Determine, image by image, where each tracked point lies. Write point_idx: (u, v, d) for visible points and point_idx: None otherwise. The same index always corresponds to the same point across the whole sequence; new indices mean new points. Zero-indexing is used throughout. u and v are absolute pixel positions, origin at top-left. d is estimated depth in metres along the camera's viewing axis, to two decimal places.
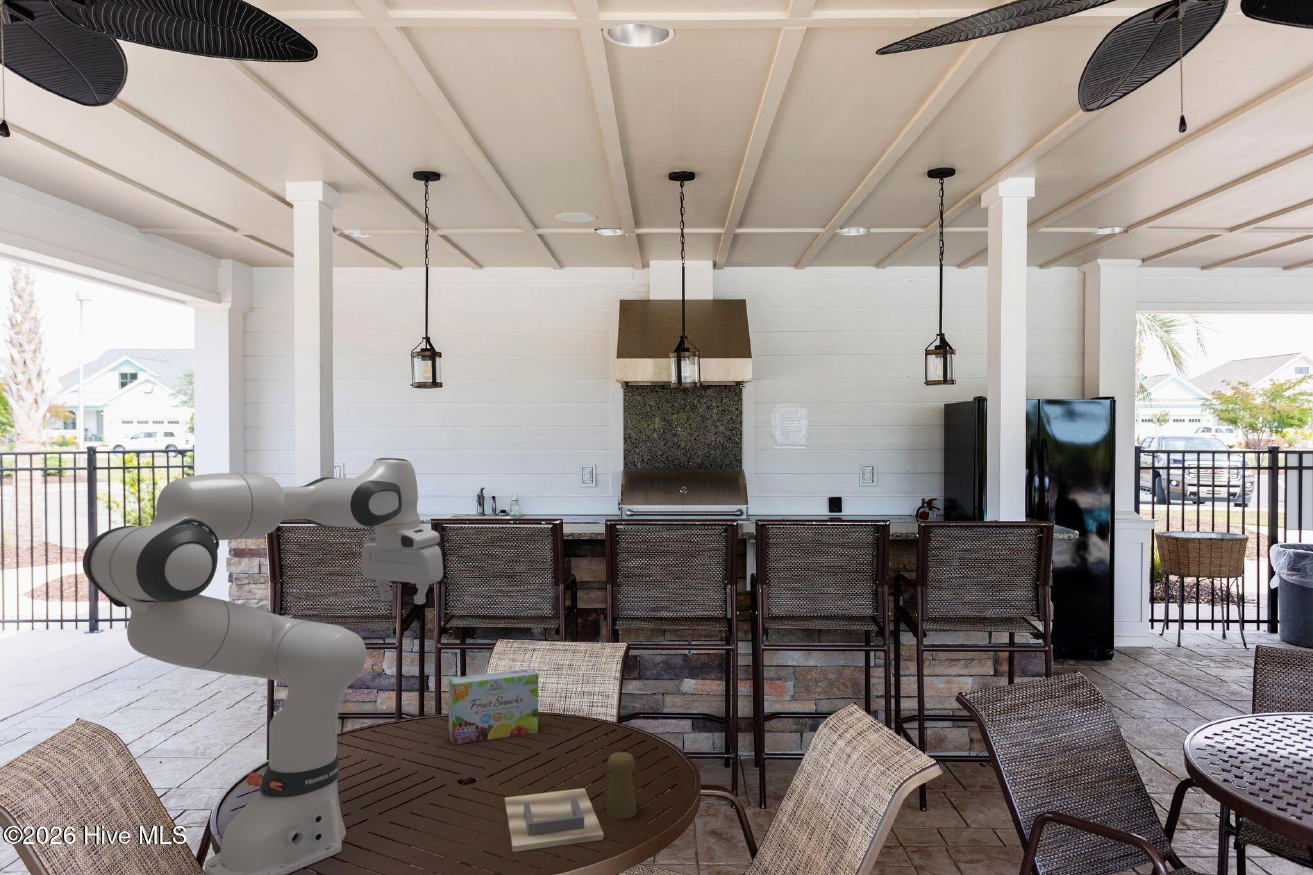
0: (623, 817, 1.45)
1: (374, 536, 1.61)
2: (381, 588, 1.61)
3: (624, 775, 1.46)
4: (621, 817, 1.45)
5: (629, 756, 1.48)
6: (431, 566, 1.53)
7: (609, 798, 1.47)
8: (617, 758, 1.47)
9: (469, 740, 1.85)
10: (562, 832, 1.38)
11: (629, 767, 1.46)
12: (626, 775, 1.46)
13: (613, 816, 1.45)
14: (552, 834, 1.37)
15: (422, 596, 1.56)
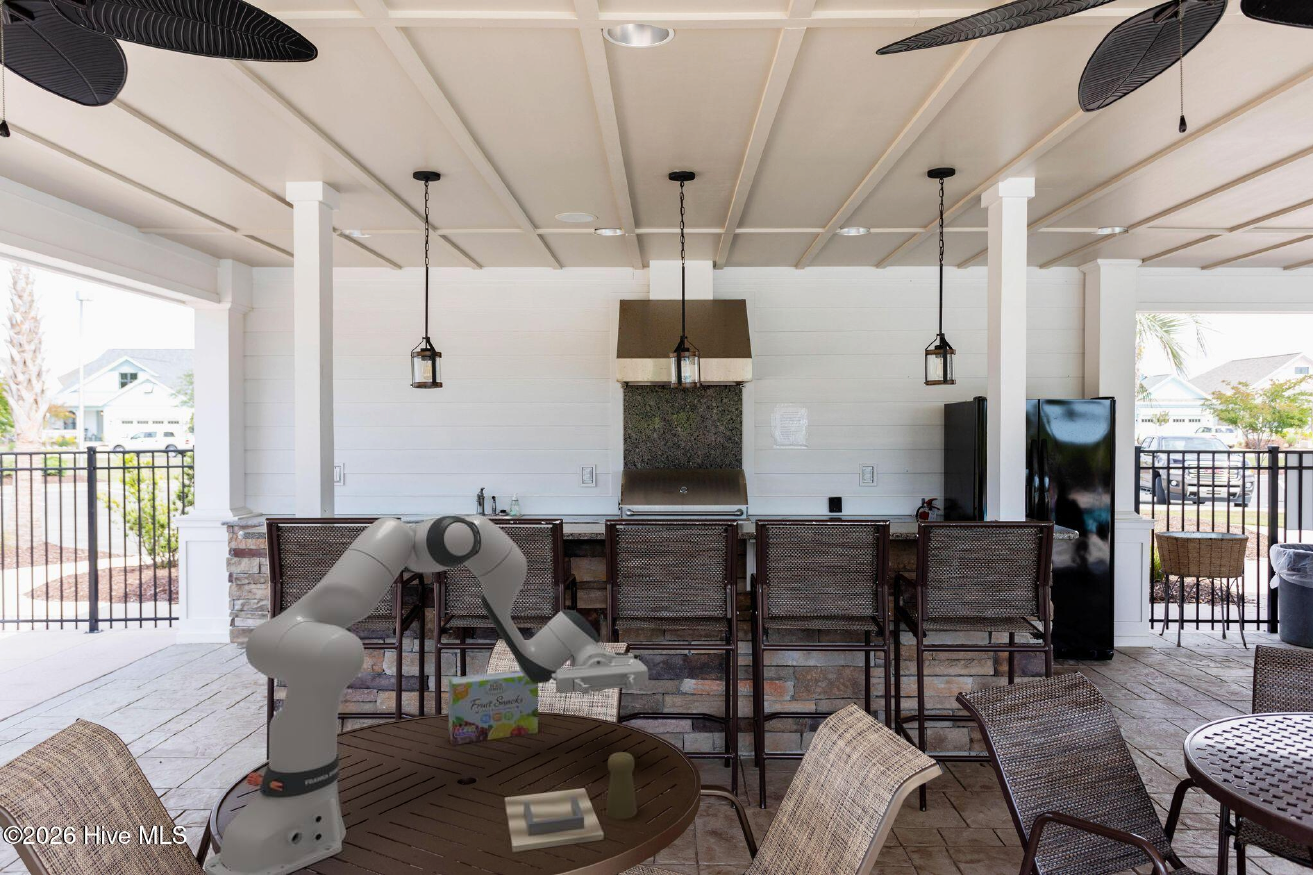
0: (623, 817, 1.45)
1: None
2: None
3: (624, 775, 1.46)
4: (621, 817, 1.45)
5: (629, 756, 1.48)
6: None
7: (609, 798, 1.47)
8: (617, 758, 1.47)
9: (469, 740, 1.85)
10: (562, 832, 1.38)
11: (629, 767, 1.46)
12: (626, 775, 1.46)
13: (613, 816, 1.45)
14: (552, 834, 1.37)
15: None
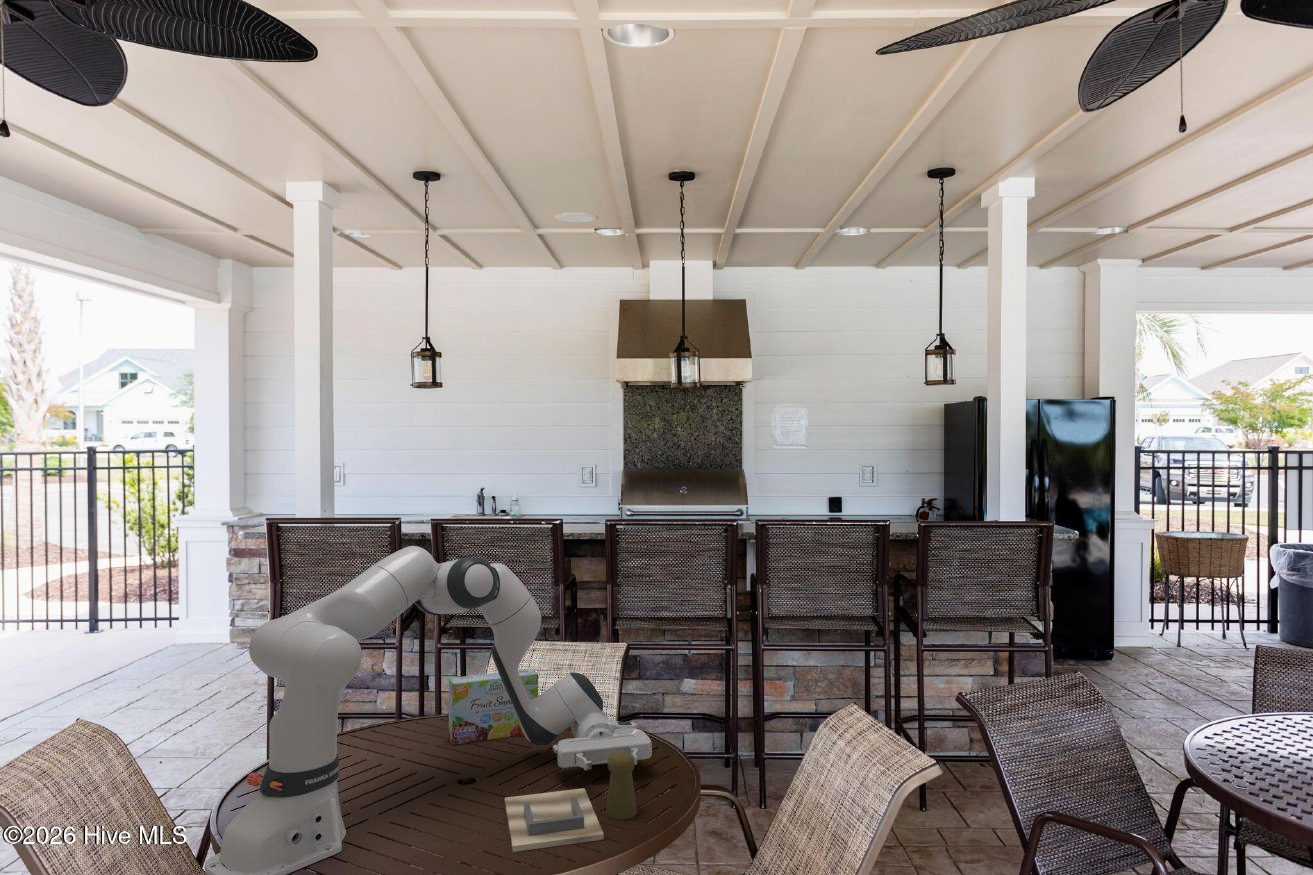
0: (623, 817, 1.45)
1: None
2: None
3: (624, 775, 1.46)
4: (621, 817, 1.45)
5: (629, 756, 1.48)
6: None
7: (609, 798, 1.47)
8: (617, 758, 1.47)
9: (469, 740, 1.85)
10: (562, 832, 1.38)
11: (629, 767, 1.46)
12: (626, 775, 1.46)
13: (613, 816, 1.45)
14: (552, 834, 1.37)
15: None
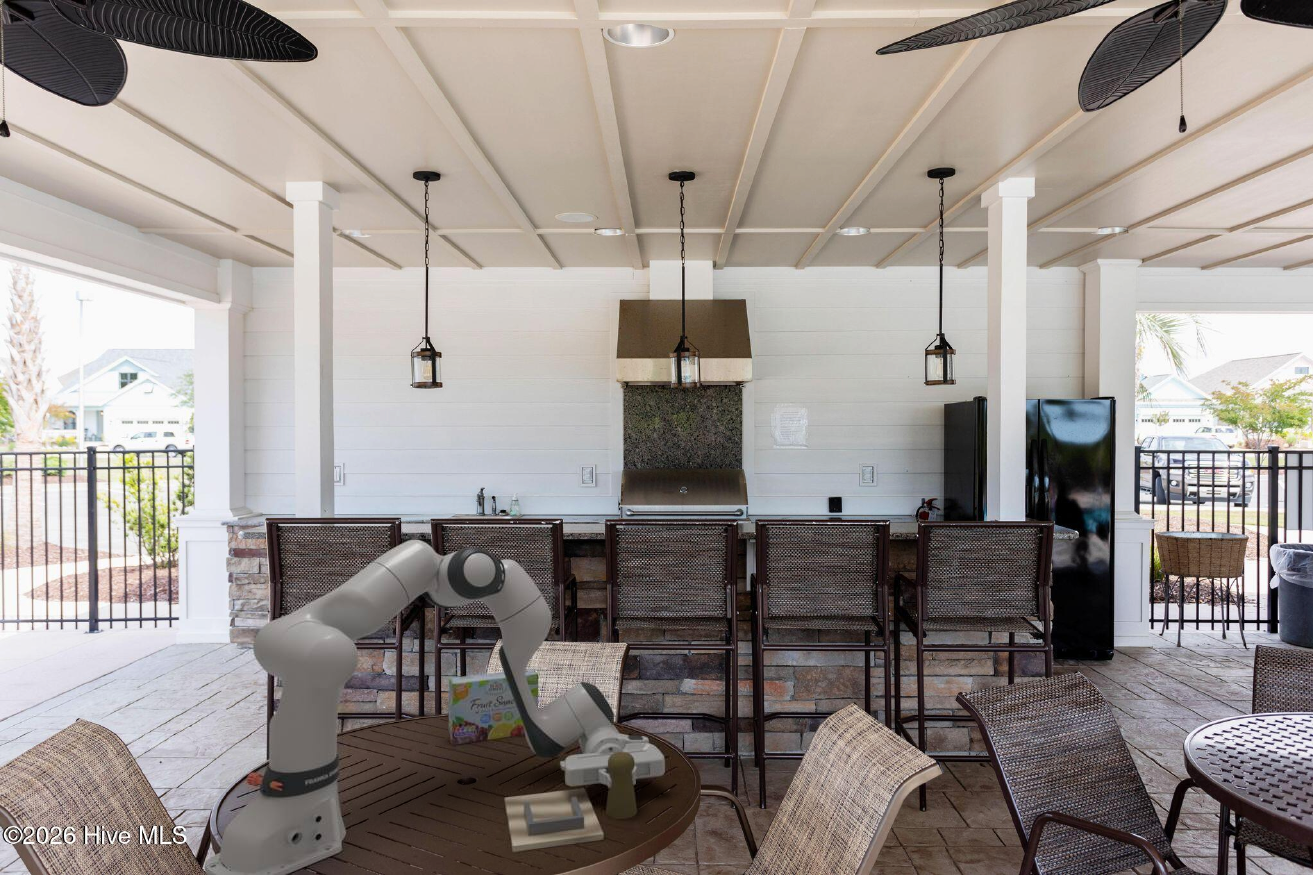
0: (623, 817, 1.45)
1: None
2: None
3: (624, 775, 1.46)
4: (621, 817, 1.45)
5: (629, 756, 1.48)
6: None
7: (609, 798, 1.47)
8: (617, 758, 1.47)
9: (469, 740, 1.85)
10: (562, 832, 1.38)
11: (629, 767, 1.46)
12: (626, 774, 1.46)
13: (613, 816, 1.45)
14: (552, 834, 1.37)
15: None
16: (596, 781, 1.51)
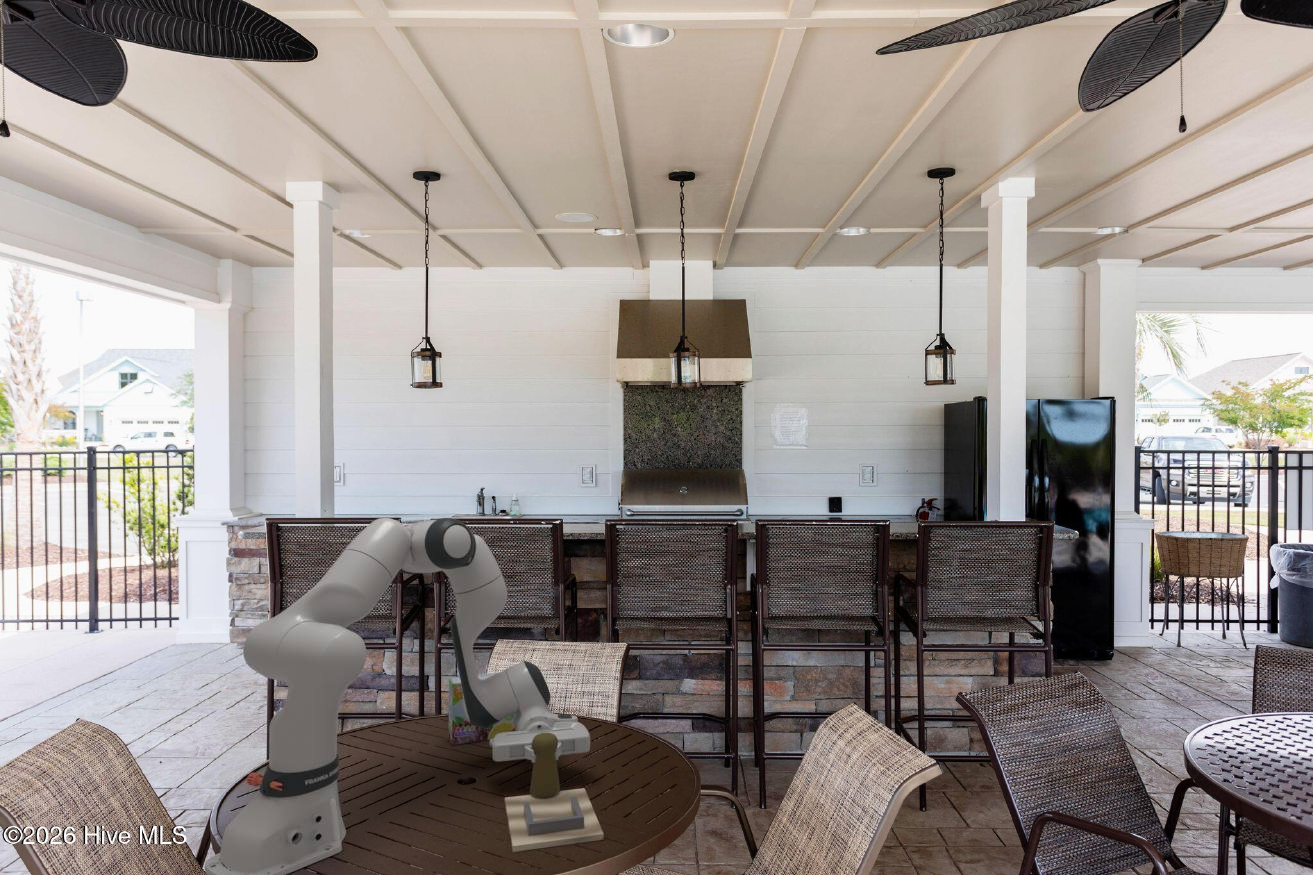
0: (546, 794, 1.51)
1: None
2: None
3: (547, 754, 1.53)
4: (544, 794, 1.51)
5: (553, 736, 1.54)
6: None
7: (533, 776, 1.53)
8: (540, 738, 1.53)
9: (469, 740, 1.85)
10: (562, 832, 1.38)
11: (552, 747, 1.53)
12: (549, 754, 1.53)
13: (536, 793, 1.52)
14: (552, 834, 1.37)
15: None
16: (522, 757, 1.57)
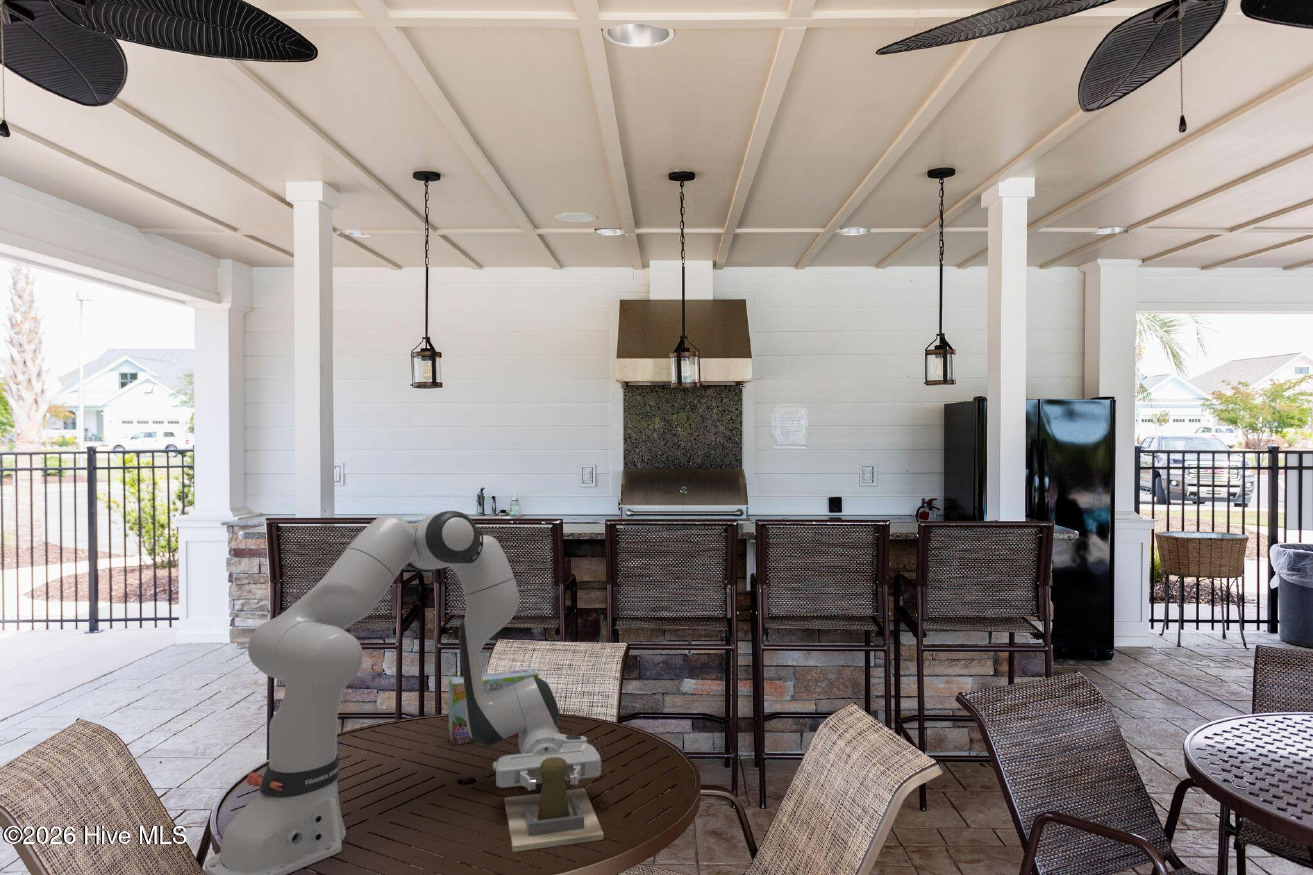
0: None
1: None
2: (527, 776, 1.43)
3: (556, 781, 1.41)
4: None
5: (562, 761, 1.43)
6: None
7: (541, 805, 1.42)
8: (549, 764, 1.42)
9: (469, 740, 1.85)
10: (562, 832, 1.38)
11: (562, 773, 1.41)
12: (558, 780, 1.41)
13: None
14: (552, 834, 1.37)
15: None
16: None
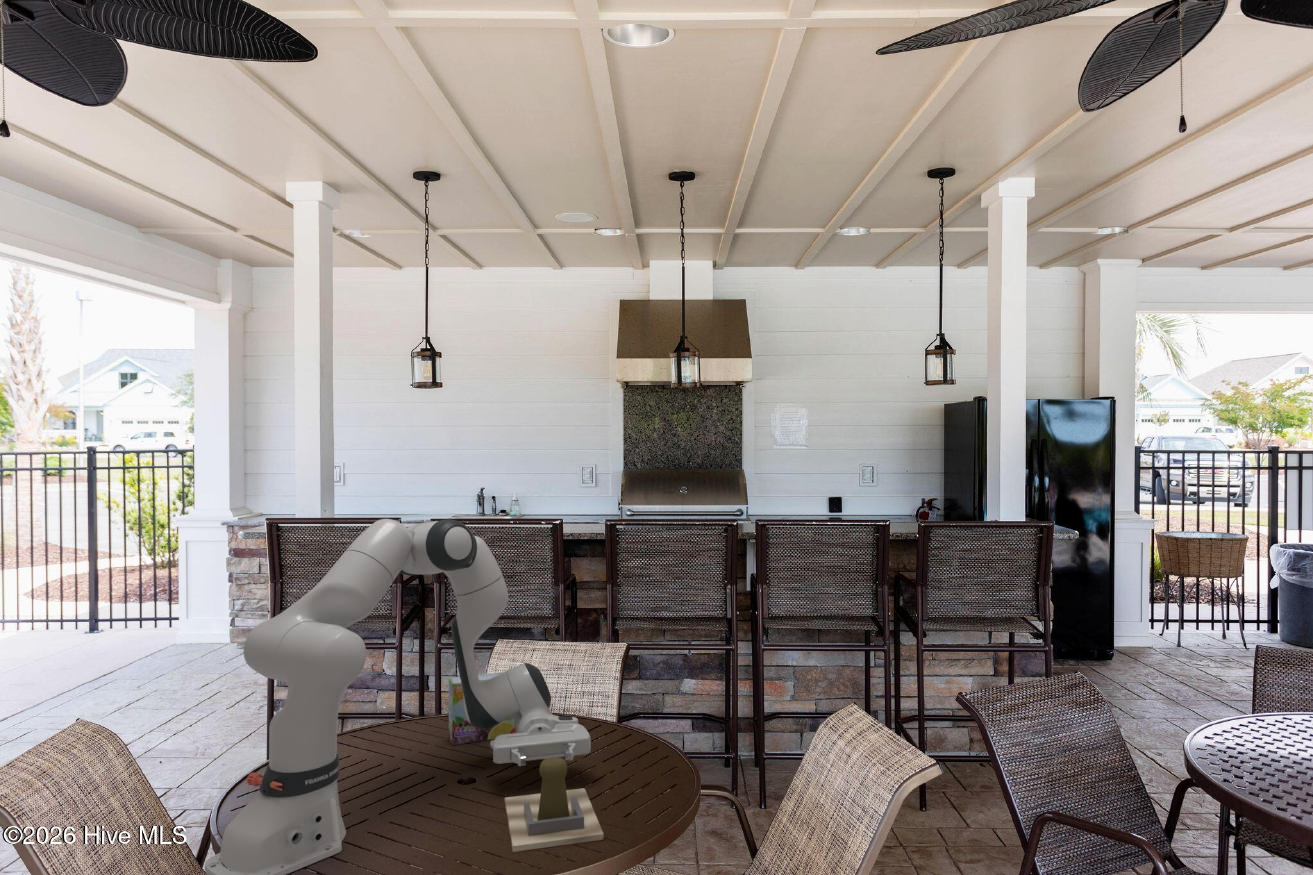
0: None
1: None
2: None
3: (556, 781, 1.41)
4: None
5: (562, 761, 1.43)
6: None
7: (540, 805, 1.42)
8: (548, 764, 1.42)
9: (469, 740, 1.85)
10: (562, 832, 1.38)
11: (562, 773, 1.41)
12: (558, 780, 1.41)
13: None
14: (552, 834, 1.37)
15: None
16: None
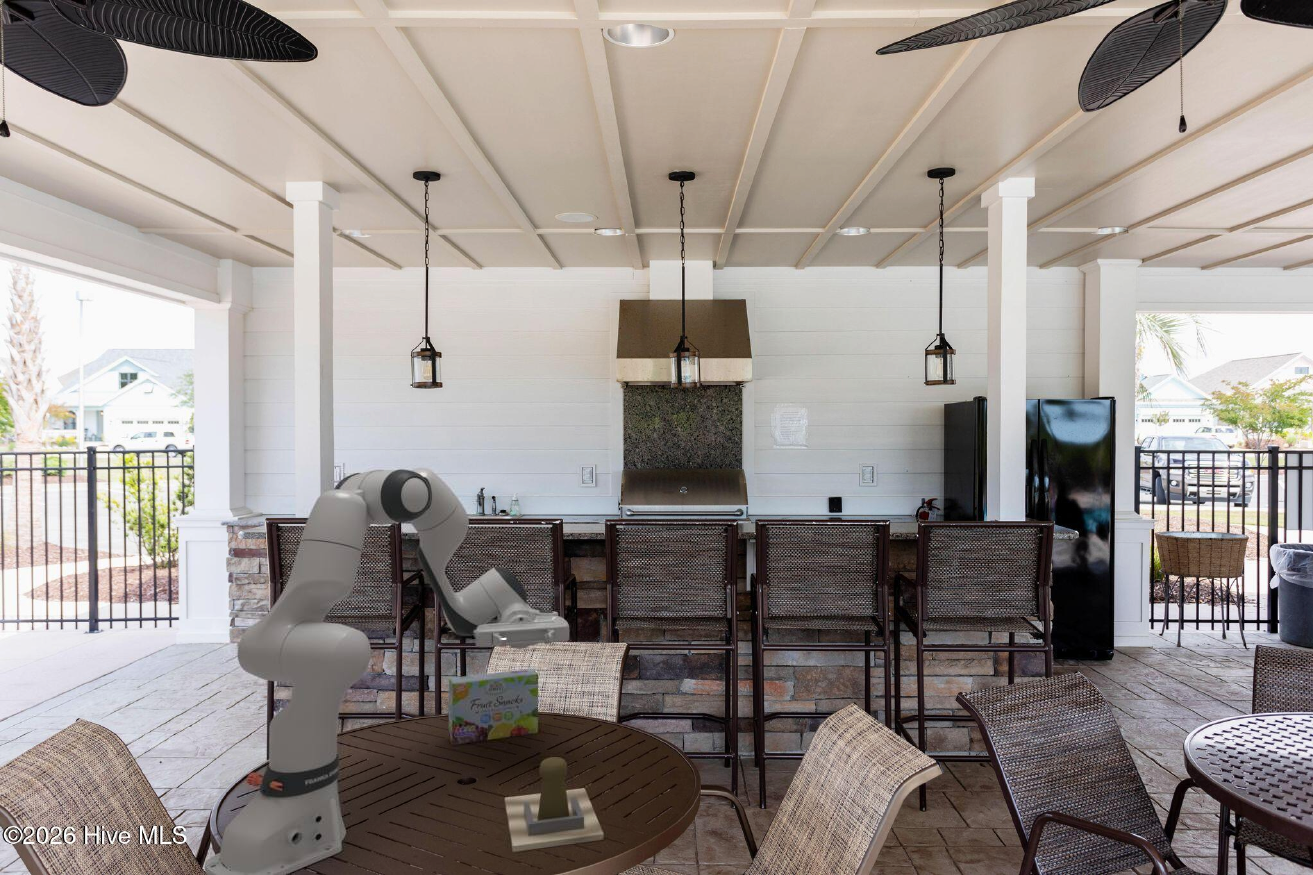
0: None
1: None
2: None
3: (556, 781, 1.41)
4: None
5: (562, 761, 1.43)
6: None
7: (540, 805, 1.42)
8: (548, 764, 1.42)
9: (469, 740, 1.85)
10: (562, 832, 1.38)
11: (562, 773, 1.41)
12: (558, 780, 1.41)
13: None
14: (552, 834, 1.37)
15: None
16: None
